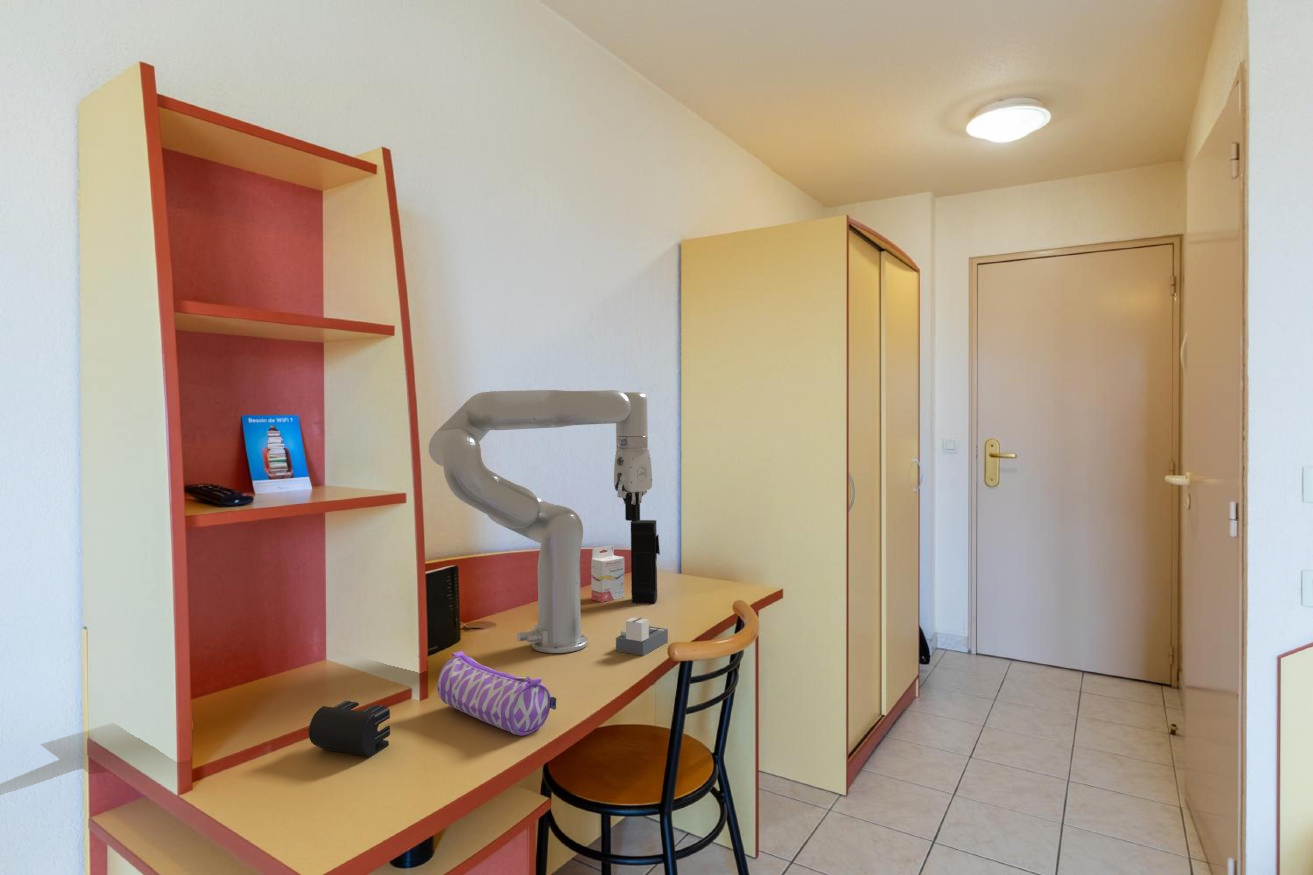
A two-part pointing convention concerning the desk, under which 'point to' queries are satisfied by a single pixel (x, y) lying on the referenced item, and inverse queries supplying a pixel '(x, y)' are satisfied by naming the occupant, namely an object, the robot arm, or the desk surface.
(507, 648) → the desk surface
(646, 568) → the portable radio
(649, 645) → the console
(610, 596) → the ink cartridge box
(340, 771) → the desk surface
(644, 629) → the block
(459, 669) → the pencil case
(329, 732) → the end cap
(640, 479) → the robot arm
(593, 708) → the desk surface
